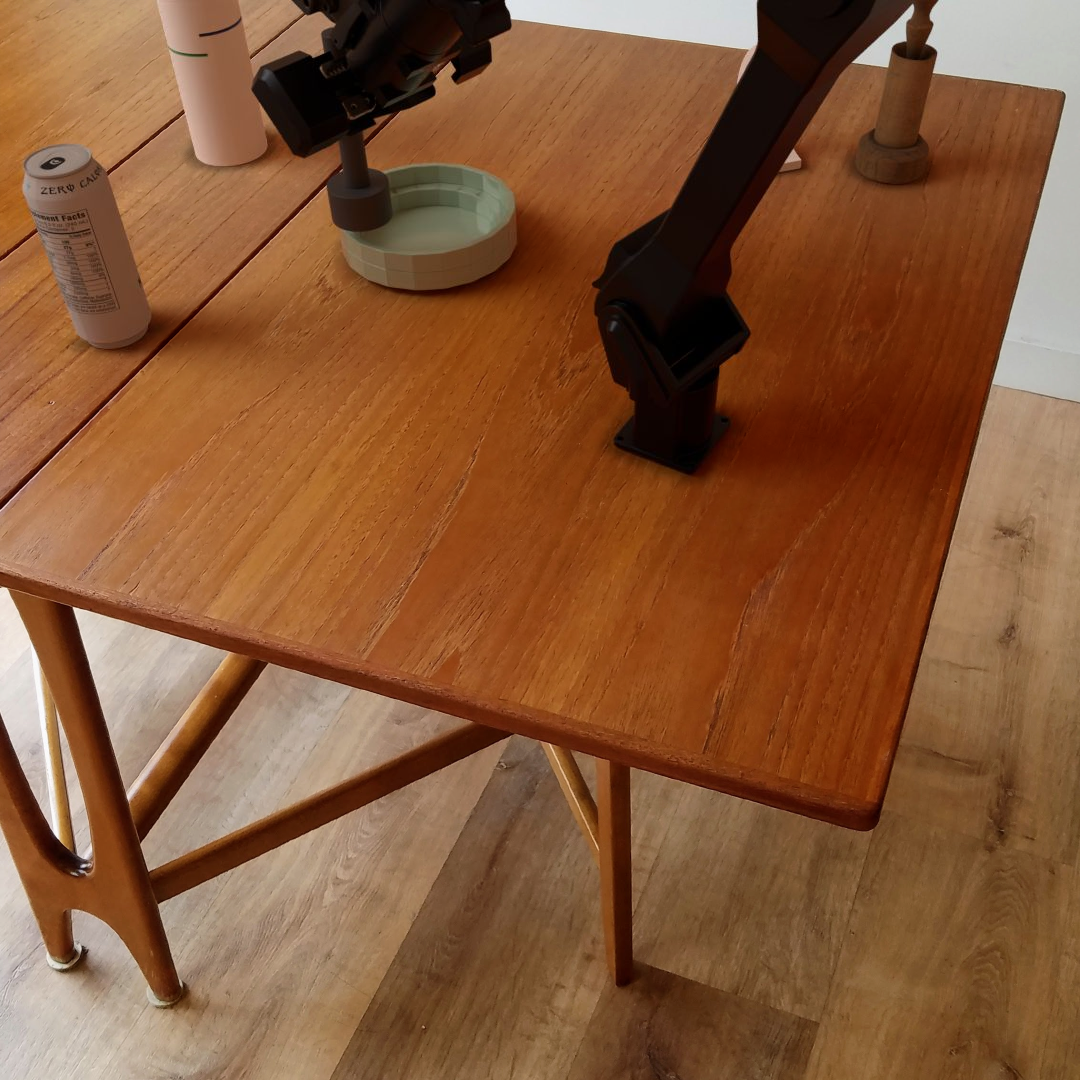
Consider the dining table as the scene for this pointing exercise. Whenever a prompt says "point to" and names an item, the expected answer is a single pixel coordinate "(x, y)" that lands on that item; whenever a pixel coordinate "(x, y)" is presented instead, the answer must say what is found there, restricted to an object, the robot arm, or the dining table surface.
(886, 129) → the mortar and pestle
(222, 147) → the cylindrical container
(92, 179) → the energy drink can
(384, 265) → the bowl
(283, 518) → the dining table surface
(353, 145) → the grey rod with base
